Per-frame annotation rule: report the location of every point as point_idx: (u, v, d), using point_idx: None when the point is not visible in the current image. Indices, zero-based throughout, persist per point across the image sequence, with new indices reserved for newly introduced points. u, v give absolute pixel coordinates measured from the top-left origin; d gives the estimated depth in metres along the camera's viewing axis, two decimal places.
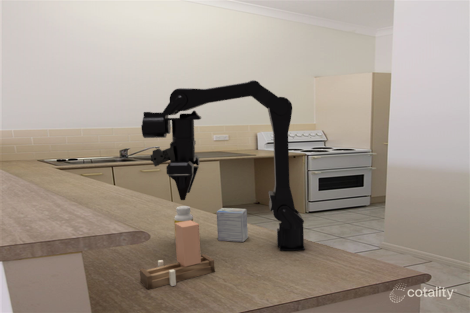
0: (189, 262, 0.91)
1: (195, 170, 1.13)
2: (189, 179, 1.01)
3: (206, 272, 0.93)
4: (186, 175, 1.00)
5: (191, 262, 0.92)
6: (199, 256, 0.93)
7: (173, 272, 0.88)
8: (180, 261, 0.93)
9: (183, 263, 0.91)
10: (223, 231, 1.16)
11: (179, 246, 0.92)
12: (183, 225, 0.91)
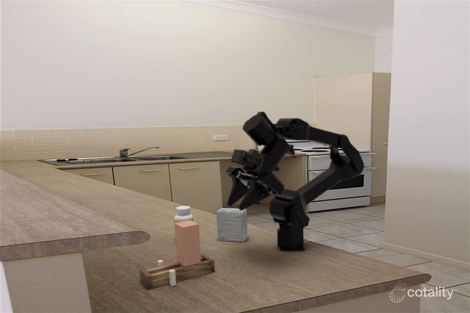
0: (189, 262, 0.91)
1: (247, 191, 1.04)
2: (263, 197, 0.97)
3: (206, 272, 0.93)
4: (268, 192, 0.96)
5: (191, 262, 0.92)
6: (199, 256, 0.93)
7: (173, 272, 0.88)
8: (180, 261, 0.93)
9: (183, 263, 0.91)
10: (223, 231, 1.16)
11: (179, 246, 0.92)
12: (183, 225, 0.91)
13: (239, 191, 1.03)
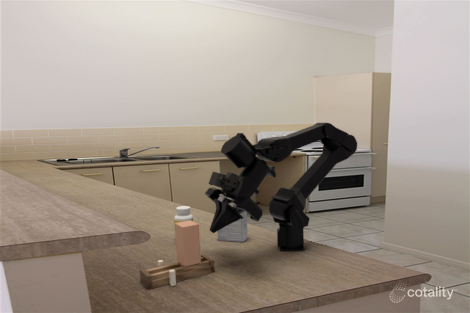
0: (189, 262, 0.91)
1: None
2: (235, 219, 0.97)
3: (206, 272, 0.93)
4: (240, 215, 0.96)
5: (191, 262, 0.92)
6: (199, 256, 0.93)
7: (173, 272, 0.88)
8: (180, 261, 0.93)
9: (183, 263, 0.91)
10: (223, 231, 1.16)
11: (179, 246, 0.92)
12: (183, 225, 0.91)
13: None
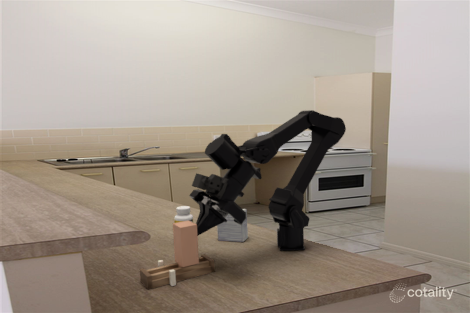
0: (187, 263, 0.91)
1: None
2: (219, 222, 0.95)
3: (206, 272, 0.93)
4: (224, 218, 0.94)
5: (189, 262, 0.91)
6: (197, 256, 0.92)
7: (173, 272, 0.88)
8: (178, 261, 0.92)
9: (181, 264, 0.91)
10: (223, 231, 1.16)
11: (177, 246, 0.92)
12: (181, 225, 0.91)
13: None
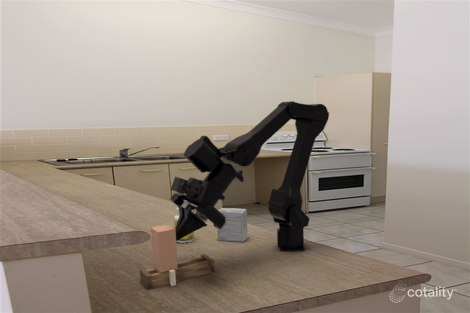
0: (165, 268, 0.89)
1: None
2: (199, 226, 0.92)
3: (206, 272, 0.93)
4: (203, 222, 0.91)
5: (167, 268, 0.89)
6: (176, 262, 0.90)
7: (173, 272, 0.88)
8: (156, 267, 0.90)
9: (159, 269, 0.88)
10: (223, 231, 1.16)
11: (155, 251, 0.90)
12: (159, 230, 0.88)
13: None
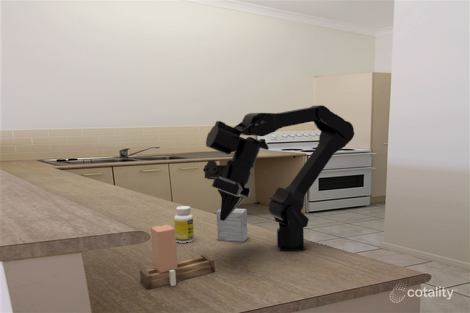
0: (165, 268, 0.89)
1: (239, 200, 1.01)
2: (235, 201, 0.98)
3: (206, 272, 0.93)
4: (234, 195, 0.97)
5: (167, 268, 0.89)
6: (176, 262, 0.90)
7: (173, 272, 0.88)
8: (156, 267, 0.90)
9: (159, 269, 0.88)
10: (223, 231, 1.16)
11: (155, 251, 0.90)
12: (159, 230, 0.88)
13: None
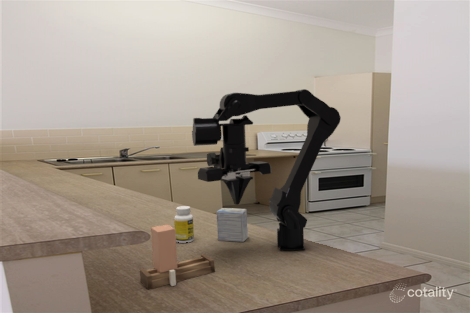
0: (165, 268, 0.89)
1: (242, 181, 1.02)
2: (232, 184, 1.01)
3: (206, 272, 0.93)
4: (226, 180, 1.01)
5: (167, 268, 0.89)
6: (176, 262, 0.90)
7: (173, 272, 0.88)
8: (156, 267, 0.90)
9: (159, 269, 0.88)
10: (223, 231, 1.16)
11: (155, 251, 0.90)
12: (159, 230, 0.88)
13: None
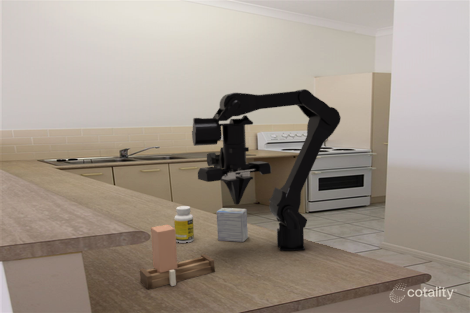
0: (165, 268, 0.89)
1: (242, 181, 1.02)
2: (232, 184, 1.01)
3: (206, 272, 0.93)
4: (226, 180, 1.01)
5: (167, 268, 0.89)
6: (176, 262, 0.90)
7: (173, 272, 0.88)
8: (156, 267, 0.90)
9: (159, 269, 0.88)
10: (223, 231, 1.16)
11: (155, 251, 0.90)
12: (159, 230, 0.88)
13: None
